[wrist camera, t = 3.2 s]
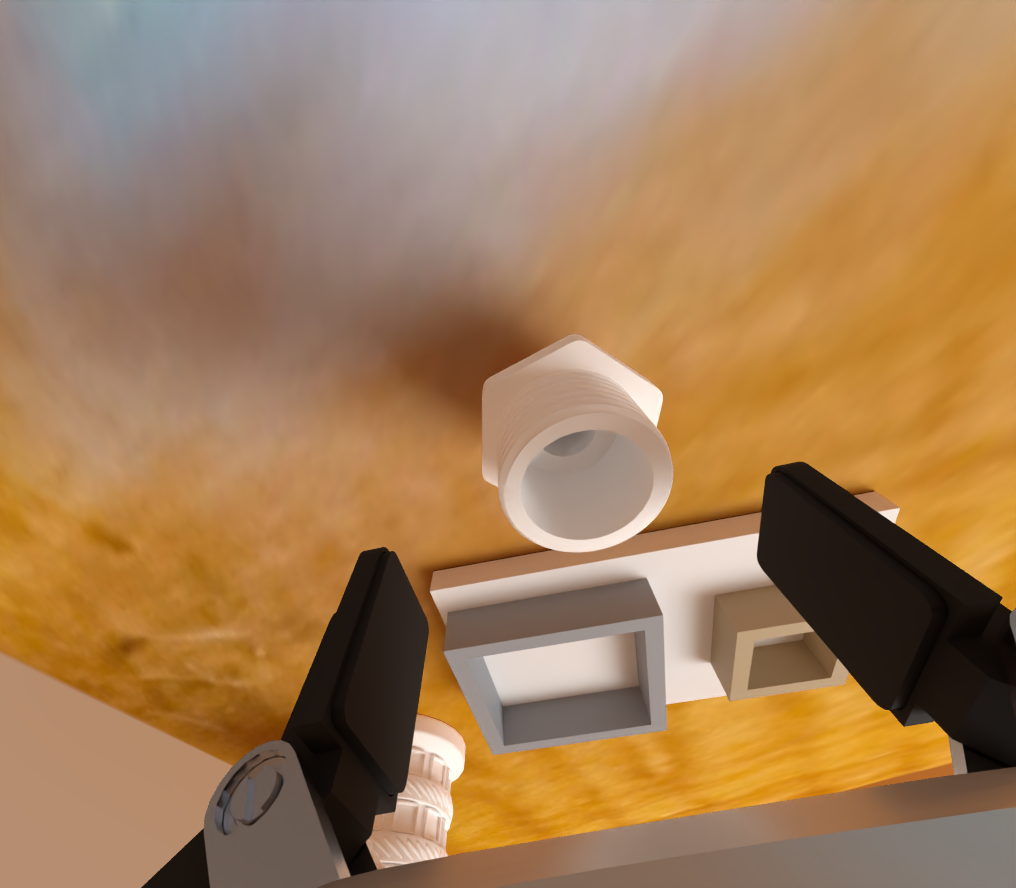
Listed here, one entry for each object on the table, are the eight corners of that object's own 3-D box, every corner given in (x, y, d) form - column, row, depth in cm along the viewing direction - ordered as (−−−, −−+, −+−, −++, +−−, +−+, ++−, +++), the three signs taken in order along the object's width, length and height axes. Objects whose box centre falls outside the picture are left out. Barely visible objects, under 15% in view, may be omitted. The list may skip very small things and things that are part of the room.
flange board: (433, 571, 24) (422, 630, 20) (875, 491, 22) (948, 540, 18) (492, 709, 31) (492, 769, 28) (825, 658, 29) (869, 716, 26)
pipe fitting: (644, 411, 19) (732, 516, 12) (516, 471, 20) (527, 596, 13) (596, 290, 16) (673, 334, 9) (452, 370, 18) (423, 459, 11)
